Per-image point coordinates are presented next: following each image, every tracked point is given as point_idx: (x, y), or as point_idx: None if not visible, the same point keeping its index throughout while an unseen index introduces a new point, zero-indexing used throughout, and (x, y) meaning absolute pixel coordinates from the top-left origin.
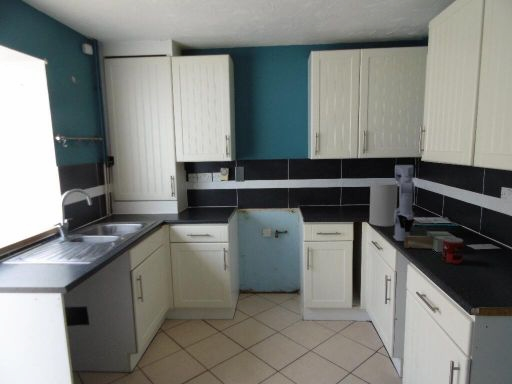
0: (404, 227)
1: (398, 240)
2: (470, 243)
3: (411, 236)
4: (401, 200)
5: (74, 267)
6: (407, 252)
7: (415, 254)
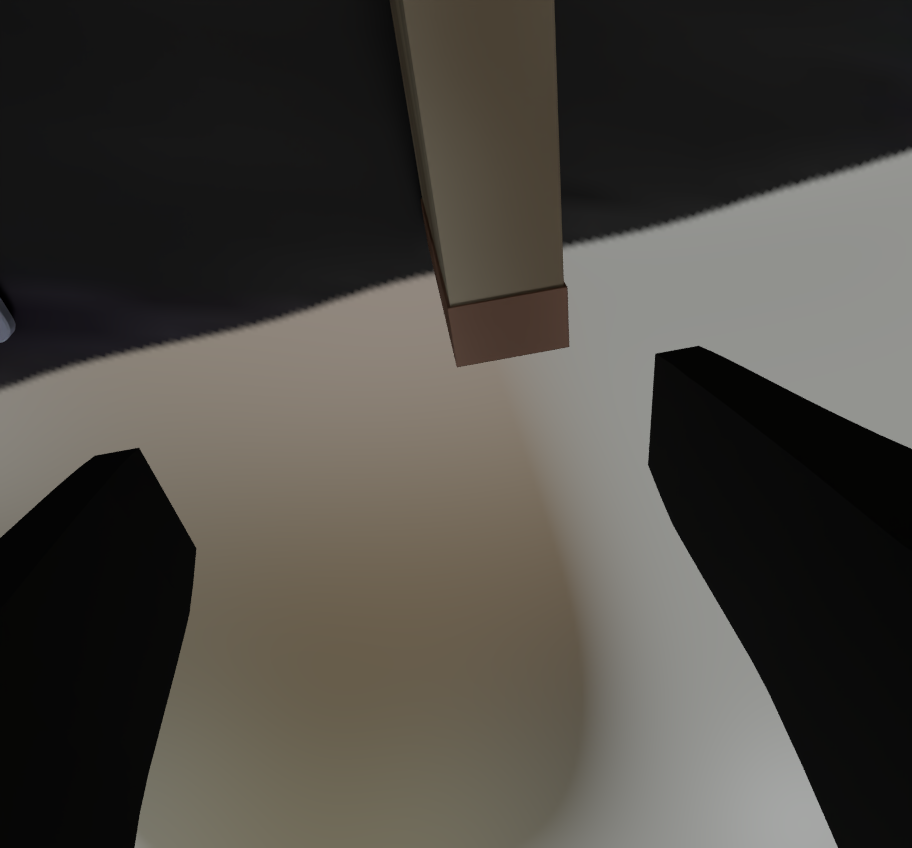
0: (734, 606)
1: (2, 315)
2: None
3: (505, 179)
4: None
5: None
6: (713, 206)
7: (839, 66)
